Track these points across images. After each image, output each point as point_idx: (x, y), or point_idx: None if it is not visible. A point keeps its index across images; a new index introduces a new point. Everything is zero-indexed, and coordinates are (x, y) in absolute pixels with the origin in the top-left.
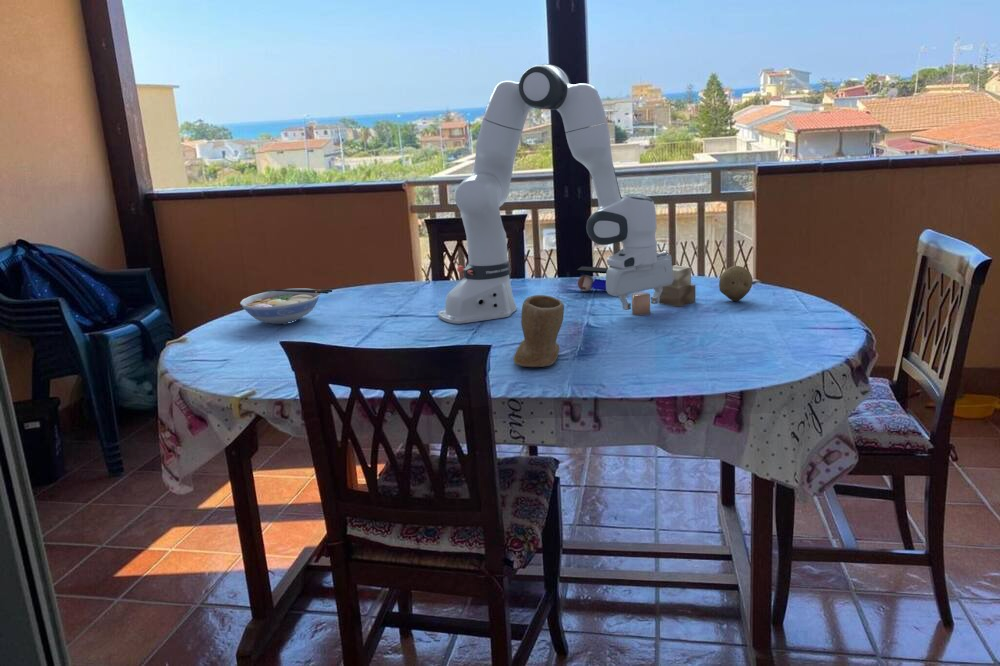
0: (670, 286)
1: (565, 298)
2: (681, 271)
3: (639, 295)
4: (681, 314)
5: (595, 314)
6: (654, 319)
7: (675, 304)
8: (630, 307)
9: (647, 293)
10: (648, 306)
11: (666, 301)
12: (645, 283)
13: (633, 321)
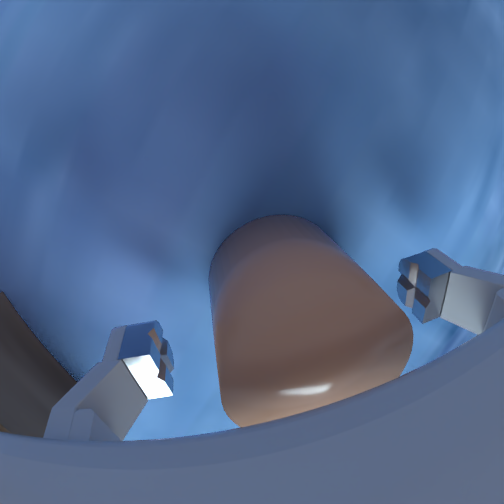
0: None
1: None
2: None
3: (354, 365)
4: (32, 93)
5: (448, 330)
6: (289, 48)
7: (14, 320)
8: (412, 260)
9: (232, 407)
10: (257, 249)
11: (56, 379)
12: (393, 489)
13: (424, 105)
